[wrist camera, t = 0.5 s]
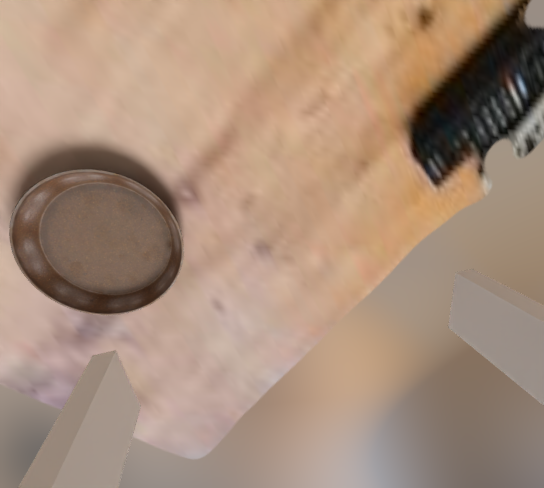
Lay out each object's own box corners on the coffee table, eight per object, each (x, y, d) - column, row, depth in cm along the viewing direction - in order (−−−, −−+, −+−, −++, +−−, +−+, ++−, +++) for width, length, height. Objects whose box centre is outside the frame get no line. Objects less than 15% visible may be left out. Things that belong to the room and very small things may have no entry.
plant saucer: (212, 223, 36) (212, 230, 33) (141, 323, 39) (135, 337, 36) (72, 132, 30) (57, 131, 27) (-1, 259, 33) (-21, 270, 30)
